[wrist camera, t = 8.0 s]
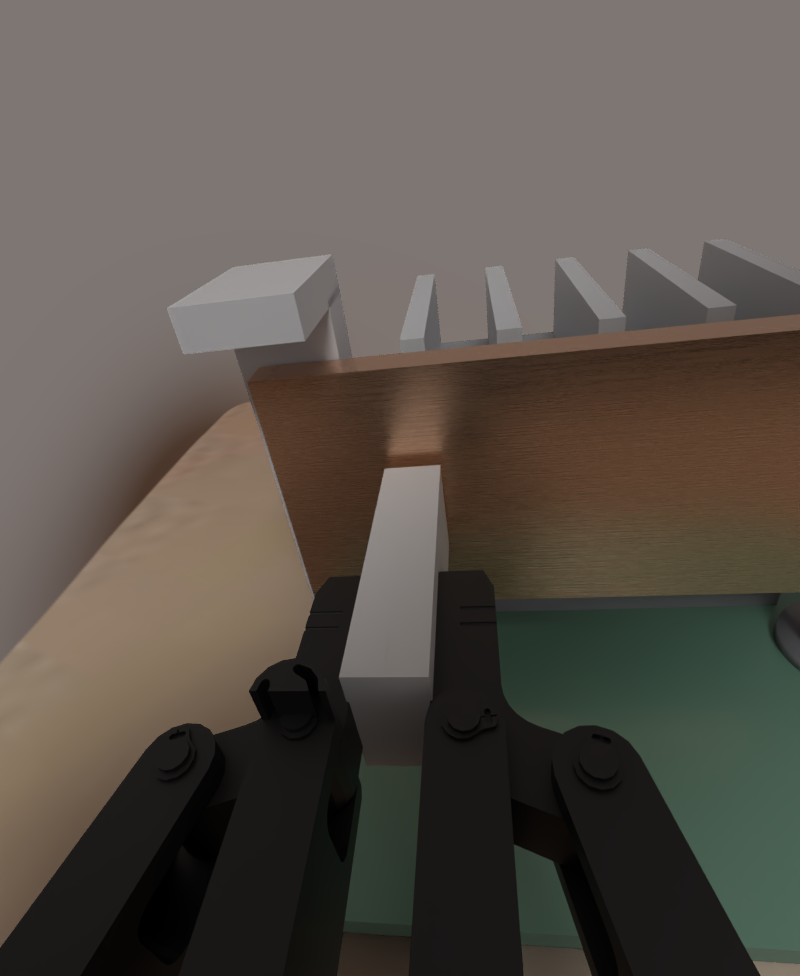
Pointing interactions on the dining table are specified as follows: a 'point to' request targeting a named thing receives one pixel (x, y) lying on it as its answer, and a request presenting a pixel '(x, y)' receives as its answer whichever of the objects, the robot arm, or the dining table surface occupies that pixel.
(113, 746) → the dining table surface
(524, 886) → the heat sink
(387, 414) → the hinge
